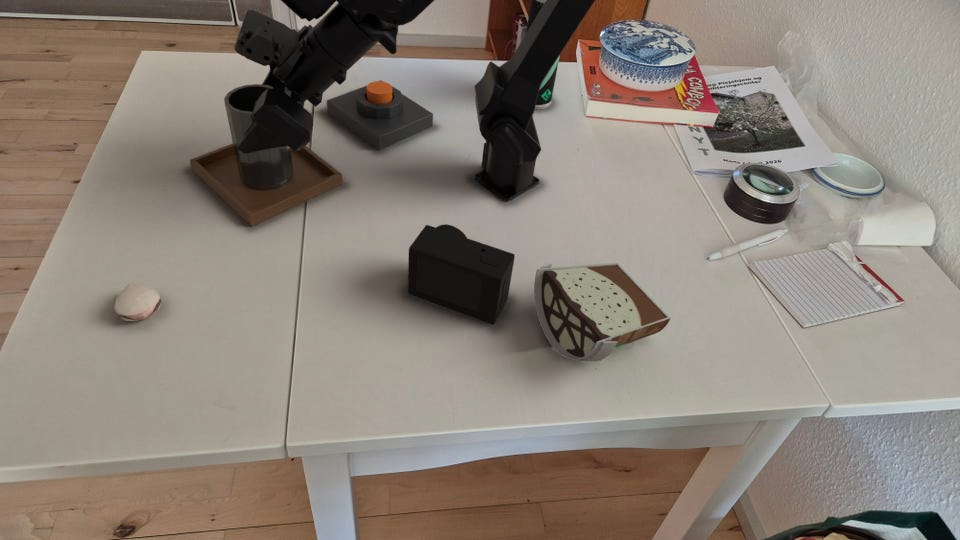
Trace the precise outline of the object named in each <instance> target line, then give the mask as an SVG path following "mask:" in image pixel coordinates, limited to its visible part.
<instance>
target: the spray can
mask: <svg viewBox="0 0 960 540" xmlns="http://www.w3.org/2000/svg"><path fill="white" fill-rule="evenodd" d="M545 1H546V0H530V3H529V9H528V10H529V11H528V18H527V25H526V26H527V27H526V31H525V34H526V33H527V32H528V30H529V28H530V27H531V25H532V23H533V21H534V20H535V18H536V16H537V15H538V13H539V11H540V10H541V8H542V6H543V5H544V3H545ZM560 57H561V54H560V55H559V57H558V59H557V60H556V62H555V63H554V65H553V66H552V68H551V69H550V71H549V72H548V74H547V76H546V77H545V79H544V80H543V82H542V84H541V86H540V90H539V94H538V98H537V102H536V106H535V110H542V109H546V108H549V107H550V106H551V104H552V102H553V95H554V90H555V85H556V79H557V74H558V68H559V62H560Z"/></svg>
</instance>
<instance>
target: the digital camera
mask: <svg viewBox="0 0 960 540" xmlns="http://www.w3.org/2000/svg"><path fill="white" fill-rule="evenodd" d="M515 258H516V257H515V254H514V253H512V252H510V251H507V250H503V249H501V248H497V247H495V246H491V245H489V244H485V243H483V242H479V241H476V240H473V239H471V238H468V237H467V236H466V234H465V233H464V231H462V230H461V229H459V228H458V227H456V226H454V225H451V224H440V225H437V226H436V227H435V226H432V225H429V224H426V225H424V227H423V228H422V229H421V231H420V233H419V234H418V235H417V236H416V238H414V240H413V242H412V243H411V245H409V248H408V272H407V273H408V274H407V275H408V277H407V278H408V283H407V285H408V286H407V287H408V288H407V290H408V291H407V292H408V294H409V295H411V296H415V297H417V298H420V299H423V300H426V301H428V302H431V303H434V304H437V305H439V306H442V307H445V308H448V309H450V310H453V311H456V312H458V313H462V314H463V315H467V316H470V317H473V318H476V319H478V320H481V321H482V322H483V321H484V322H487V323H489V324H492V325H495V324H496V322H497V320H498V318H499V317H500V315H501V313H502V311H503V309H504V307H505V305H506V303H507V301H508V298H509V293H510V287H511V282H512V275H513V269H514V263H515Z"/></svg>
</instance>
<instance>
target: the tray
mask: <svg viewBox="0 0 960 540" xmlns="http://www.w3.org/2000/svg"><path fill="white" fill-rule="evenodd" d="M290 149H291V156H292V163H293V177H292V179H291V180H290V181H289V182H288V183H287V184H286V185H284V186H282V187H280V188H277V189H272V190H256V189H252V188H249V187H247V186H246V185H245V184H243V182H242V181H241V179H240V175H239V170H238V166H237V161H236V156H235V151H234V146H233V142H232V143H229V144H227V145H225V146H222V147H220V148H217V149H214V150H212V151H209V152H207V153H204V154H201V155H198V156H195V157H193V158H191V159H189V164H190V168H191V171H192V172H193V173H194V174H195V175H196V176H197V177H198V178H199V179H201V181H202V182H204V183H205V184H206V185H207V186H208V187H209V188H210V189H211V190H212V191H213V192H214V193H215V194H216V195H217V196H218V197H219V198H220V199H222V200H223V202H225V203H226V204H227V205H228V206H229V207H230V208H231V209H232V210H233V211H235V212H236V213H237V214H238V216H240V217H241V218H242V219H243V220H244V221H245V222H246V223H247V224H248V225H250V227H254V226H256V225H257V226H258V225H259V224H260V223H263V222H266V221H267V220H270V219H272V218H274V217H276V216H278V215H280V214H283V213H284V212H286V211H289V210H291V209H294V208H296V207H298V206H299V205H302V204H304V203H306V202H308V201H310V200H313V199H315V198H317V197H319V196H321V195H324V194H325V193H328V192H330V191H332V190H335V189H336V188H339V187H340V186H343V184H344V182H343V174H342V173H341V172H340V171H339V170H337V168H336V167H334V166H332V165H331V164H330V163H328V162H327V161H326V160H325V159H324V158H322V157H321V156H320V155H318V154H317V153H316V152H314V150H311V149H310V148H309V147H308V146H307V145H306V146H304V147H303V148H302V149H301V150H300V151H295V150H293V149H292V148H290Z"/></svg>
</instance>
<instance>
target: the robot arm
mask: <svg viewBox="0 0 960 540" xmlns="http://www.w3.org/2000/svg"><path fill="white" fill-rule="evenodd" d="M280 1H281V2H282V3H283V4H284V5H285V6H286V7H287V8H288V9H289V10H290V11H292V12H293V13H294V14H295V15H296V16H297V17H298V18H299V19H301V20H305V19H306V20H307V22H309V23H310V22H311V21H312V20H314V19H315V20H318V19H320V18H321V17H322V18H321V19H320V20H319V21H318V22H317V23H316V24H314V26H312V24H308V25H306V24H305V25H303V27H301V28H300V29H299V30H296V29H294V28H290V27H289V26H287V25H286V24H285V23H283V22H280V21H278V20H276V19H274V18H271V17H269V16H267V15H265V14H263V13H260V12H258V11H256V10H253V9H249V10H246V12H245V15H244V18H243V20H242V23H241V26H240V28H239V32H238V34H237V37H236V40H235V44H234V48H233V49H234V51H235V52H236V53H237V54H238V55H240V56H242V57H244V58H245V59H246V60H249V61H251V62H254V63H255V64H258V65H261V66H263V67H267V66H268V67H269V71H268V73H267V75H266V76H265V79H264V80H263V81H262V84H261V85H269V86H271V87H274V88H277V89H274V88H268V89H267V90H266V91H265V92H264V93H263V94H262V95H261V96H260V98H259V99H258V100H256V101H255V104H254V108H253V111H252V117H253V119H254V120H255V122H254V123H253V125H252V126H251V128H250V129H249V130H248V132H247V133H246V135H245V136H244V138H243V139H242V141H241V142H240V144H239V145H238V150H240V151H241V152H242V153H244V154H246V153H251V152H256V151H261V150H265V149H271V148H276V147H285V146H288V147H290V148H292V149H293V150H295V151H300V150H301V149H302V148H303V147H304V146H307V145H308V144H309V143H310V142H311V139H312V134H313V128H314V120H313V119H314V118H313V114H312V113H311V112H310V111H308V109H306V108H305V103H306V101H307V102H308V103H310V104H311V105H313V106H314V107H315V108H316V107H318V106H319V105H320V104H321V103H322V101H323V95H324V93H325V92H326V91H327V90H328V89H329V88H330V87H331V86H332V85H334V84H335V83H336V84H338V85H339V86H341V85H342V84H343V83H344V82H345V81H346V79H347V74H348V71H349V70H350V69H351V68H352V67H353V66H354V65H355V64H357V62H358V61H360V60H361V59H362V58H363V57H364V56H365V55H366V54H367V53H368V52H369V51H370V50H372V49H373V48H374V47H375V46H376V45H377V44H378V43H379V44H380V45H381V46H382V47H383V48H384V49H385V50H386V51H387V52H388V53H389V54H391V55H395V54H396V53H397V50H398V49H397V45H398V44H397V37H398V33H399V26H404V25H407V24H410V23H411V22H413V21H414V20H415V19H417V17H419V16H420V15H421V14H422V13H423V12H424V11H425V10H426V9H427V8H428V7H429V6H430V5H431V4H433V2H434V1H435V0H280ZM336 2H337V3H336ZM595 2H596V0H546V1H545V3H544V5H543V6H542V8H541V10H540V11H539V13H538V15H537V16H536V18H535V20H534V21H533V23H532V25H531V27H530V28H529V30H528V32H527V33H526V32H525V35H524V36H523V38H522V40H521V42H520V43H519V45H518V47H517V48H516V50H515V51H514V53H513V55H512V56H511V57H510V58H509V59H508V60H507V61H505V62H503V64H501V65H500V66H499V65H497V64H496V63H495V62H493V61H489V62H488V64H487V66H486V68H485V71H484V74H483V75H482V78H481V79H480V80H479V81H478V82H476V83H475V84H474V92H475V93H474V94H475V99H474V103H475V109H476V116H477V122H478V123H477V124H478V129H479V132H480V135H481V136H482V138H483V139H484V140H485V142H484V143H483V149H482V157H481V169H482V170H481V171H479V172H477V173H475V174H474V177H473V178H474V179H473V180H475V181H476V182H477V183H479V184H481V185H482V186H484V187H486V188H487V189H488V190H489V191H491V192H493V193H494V194H496V195H497V196H499V198H501V199H503V200H504V201H506V202H510V201H512V200H513V199H515V198H517V197H519V196H520V195H523V194H524V193H525V192H528V191H529V190H531V189H533V188H534V187H536V186H537V185H539V184H540V179H539V178H538V177H537V176H535V175H534V174H535V169H536V162H537V158H538V156H539V155H540V153H541V151H542V147H541V143H540V139H539V135H538V131H537V127H536V124H535V123H536V122H535V120H534V117H533V116H534V113H535V110H536V109H535V106H536V102H537V98H538V94H539V90H540V86H541V84H542V82H543V80H544V79H545V77H546V76H547V74H548V72H549V71H550V69H551V68H552V66H553V65H554V63H555V62H556V60H557V59H558V57H559V55H560V56H561V54H562V53H563V51H564V49H565V48H566V46H567V45H568V44H569V42H570V40H571V38H572V37H573V35H574V34H575V33H576V31H577V30H578V28H579V26H580V25H581V23H582V21H583V20H584V19H585V17H586V16H587V14H588V12H589V10H590V9H591V8H592V6H594V5H593V4H594V3H595ZM335 3H336V4H335ZM334 4H335V5H334ZM333 5H334V6H333ZM332 6H333V7H332ZM331 7H332V8H331ZM330 8H331V9H330Z"/></svg>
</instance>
